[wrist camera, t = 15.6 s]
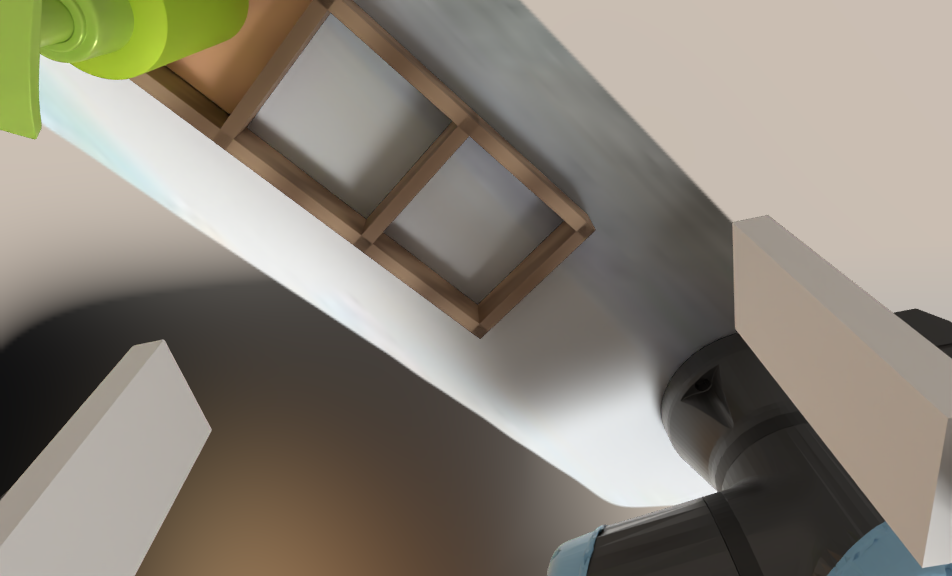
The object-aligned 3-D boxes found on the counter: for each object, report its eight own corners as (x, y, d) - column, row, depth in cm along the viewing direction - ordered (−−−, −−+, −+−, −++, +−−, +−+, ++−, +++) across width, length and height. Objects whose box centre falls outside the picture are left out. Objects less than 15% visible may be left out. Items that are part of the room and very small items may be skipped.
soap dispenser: (147, 42, 40) (-85, 111, 23) (157, -74, 37) (-102, -98, 20) (238, 72, 41) (85, 159, 24) (256, -39, 38) (94, -32, 21)
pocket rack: (587, 214, 48) (595, 230, 45) (478, 319, 52) (480, 339, 49) (166, -170, 35) (144, -179, 33) (67, 8, 40) (40, 12, 37)
